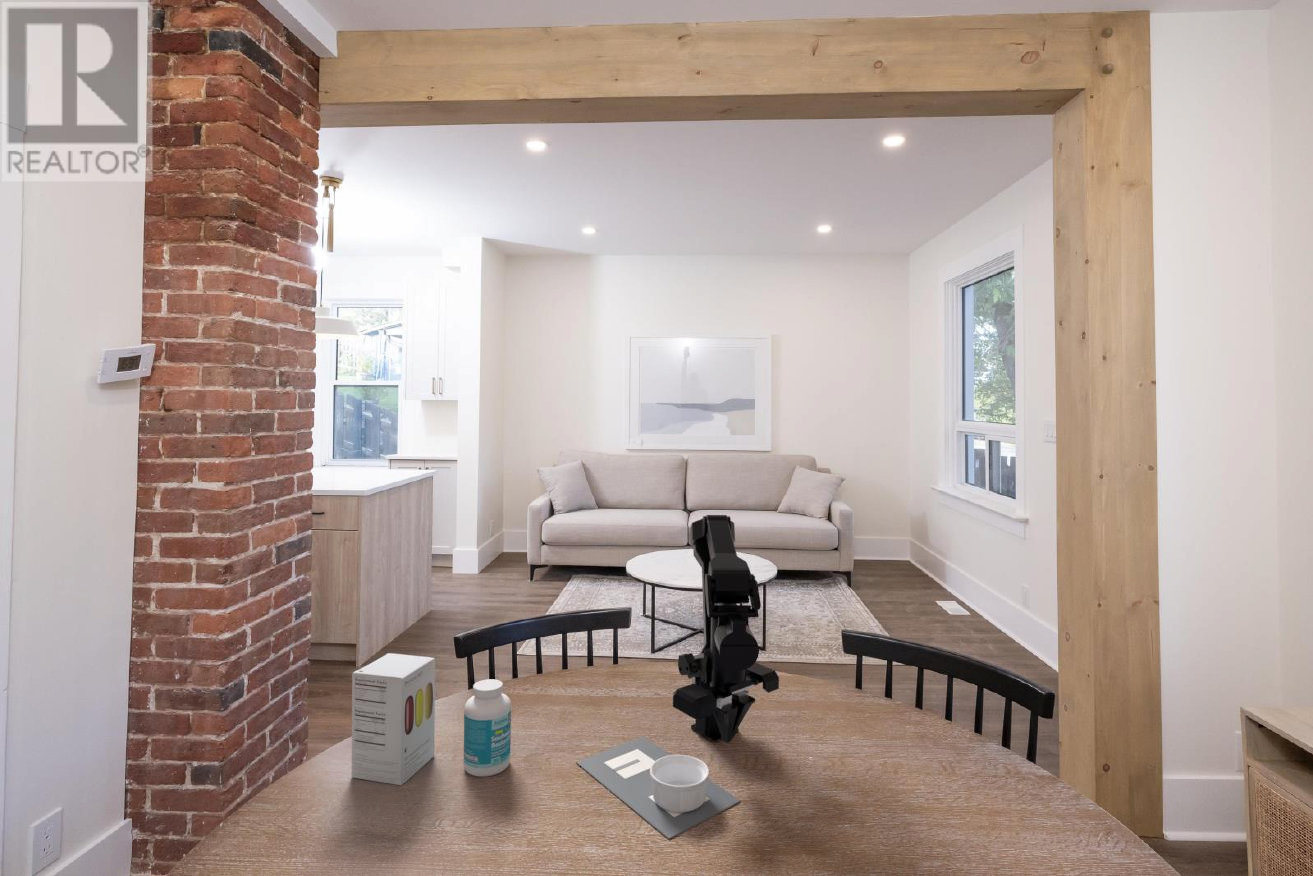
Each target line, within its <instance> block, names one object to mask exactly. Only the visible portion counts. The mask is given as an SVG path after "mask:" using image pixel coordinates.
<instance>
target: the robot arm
mask: <svg viewBox="0 0 1313 876" xmlns="http://www.w3.org/2000/svg"><path fill="white" fill-rule="evenodd" d="M689 528H690V529H689V545H690V546H692V548H693V549H692V552H693V557H694V558H695V560H696V561H697V564H699V566H700V567H701V577H702V578H701V580H702V582H701V584H702V585H701V586H702V609H703V610H702V612H703V614H702V615H703V619H702V620H703V643H704V644H703V647H702V649H701V651H700V653H699V654H695V655H694V654H693V653H692V652H691V653H690V652H689V653H683V654H679V655H678V662H677V668H678V672H679V675H681V676H687V679H691V684H688V685H685V686H682V687H679V688H677V689H676V690H674V691H673V694H672V707H673V708H675V709H676V710H678V711H680V712H682V713H683V714H685V715H687V716H689V717H691V718H692V719H694V720H695V723H693V724H691V725H690V729H691V730H693V731H694V732H695V733H698V734H700V735H702V736H703V737H705V738H706V739H708V740H710V741H711V742H714V743H715V742H718V741H721V740H722V741H723V742H725V743H726V744H728V743H730V742H732V740H733V738H734V736H736V735H735V734H737V733H739V730H740V729H739V727H740V725H741V724H742V721H744V718H745V716H746V714H747V713H748V712H749V710H750V708H751V706H752V705H753V704H755V703H756V698H755V697H753V696H751V695H750V691H749V689H750V688H753V687H756V686H757V685H759V684H761V683H762V689H763V690H764V691H765V692H766V693H771V692H774V691H777V690H779V689H780V688H779V687H780V676H779V675H778V673H777V672H776V670H774V669H772V668H770V667H767V666H766V665H762V664H760V663H758V662H757V660H758V658H759V655H760V647H759V644H758V641H757V639H756V637H755V635H754V634H753V631H752V630H751V628H750V622H749V618H759V610H760V609H761V606H762V603H761V595H760V592H759V589H760V588H759V583H758V580H756V576H755V574H754V573H751V569H750V566H749V564H748V562H747V561H746V560H744V559H743V558H741V557H739V556H738V554H737V553H738V552H737V550H736V547H735V542H736V532H735V523H734V521H732V519H731V516H728V515H726V514H706V515H703V516H702V518H700V519H698V520H696V521H693V522H691V524H690V527H689ZM749 603H750V605H749ZM747 604H748V605H747Z"/></svg>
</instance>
